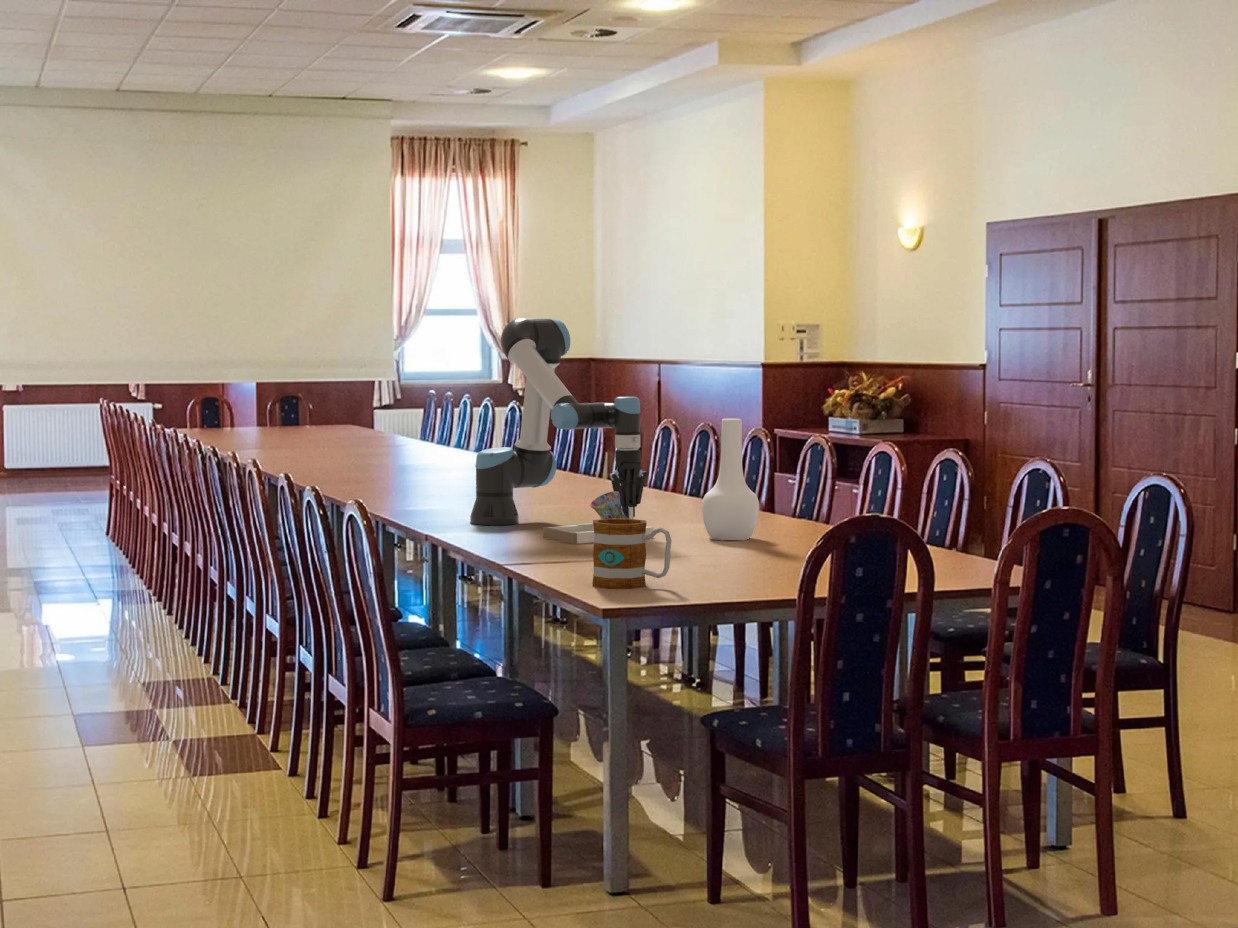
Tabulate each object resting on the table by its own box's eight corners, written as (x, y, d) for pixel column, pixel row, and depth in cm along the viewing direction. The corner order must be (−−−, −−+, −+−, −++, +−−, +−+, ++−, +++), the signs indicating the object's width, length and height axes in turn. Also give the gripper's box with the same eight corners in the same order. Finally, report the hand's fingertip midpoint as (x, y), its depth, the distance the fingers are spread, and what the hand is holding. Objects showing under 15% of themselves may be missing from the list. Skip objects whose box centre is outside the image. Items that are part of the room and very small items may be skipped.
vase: (734, 543, 453) (736, 420, 451) (689, 538, 465) (691, 418, 462) (770, 538, 466) (772, 419, 463) (725, 533, 477) (727, 417, 474)
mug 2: (581, 586, 372) (581, 523, 370) (602, 579, 384) (603, 517, 383) (661, 592, 365) (661, 527, 363) (679, 584, 377) (680, 521, 376)
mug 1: (635, 528, 463) (621, 497, 459) (606, 541, 463) (591, 510, 459) (630, 516, 474) (616, 485, 471) (601, 528, 474) (587, 497, 471)
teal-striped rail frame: (537, 536, 466) (537, 525, 465) (615, 530, 482) (616, 520, 482) (579, 544, 448) (579, 533, 447) (659, 538, 464) (659, 527, 464)
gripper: (617, 450, 462) (618, 531, 464) (652, 448, 470) (653, 528, 471) (602, 449, 468) (603, 529, 470) (637, 447, 476) (638, 525, 477)
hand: (628, 528), depth 471 cm, fingers closed
